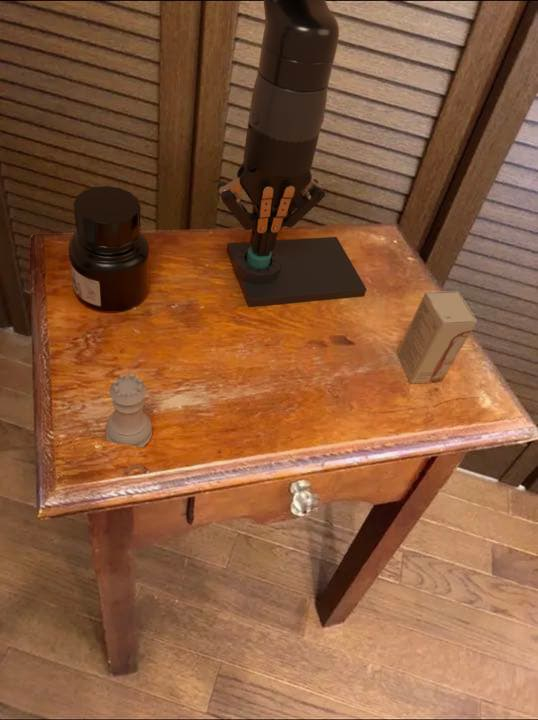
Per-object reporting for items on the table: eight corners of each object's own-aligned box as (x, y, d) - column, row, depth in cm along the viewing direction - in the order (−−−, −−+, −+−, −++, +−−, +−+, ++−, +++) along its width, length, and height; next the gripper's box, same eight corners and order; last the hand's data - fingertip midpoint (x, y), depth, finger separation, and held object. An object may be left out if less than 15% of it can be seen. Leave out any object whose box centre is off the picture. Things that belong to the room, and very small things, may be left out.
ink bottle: (70, 264, 72) (60, 178, 64) (142, 260, 75) (142, 177, 66) (76, 320, 67) (66, 234, 58) (154, 313, 69) (156, 230, 60)
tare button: (249, 271, 73) (251, 260, 72) (243, 255, 75) (245, 245, 74) (272, 269, 74) (274, 258, 73) (265, 254, 76) (267, 243, 75)
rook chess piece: (100, 422, 58) (96, 370, 52) (145, 411, 60) (145, 360, 54) (111, 459, 56) (108, 409, 50) (157, 447, 57) (159, 397, 52)
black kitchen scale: (244, 308, 72) (248, 290, 70) (223, 251, 79) (225, 233, 77) (363, 297, 78) (370, 279, 75) (334, 244, 84) (339, 227, 82)
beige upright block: (443, 382, 70) (479, 323, 62) (409, 384, 68) (442, 324, 61) (427, 350, 73) (459, 289, 65) (394, 351, 72) (424, 290, 64)
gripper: (330, 102, 65) (299, 230, 78) (214, 101, 61) (202, 236, 74) (356, 138, 61) (319, 267, 73) (233, 139, 56) (216, 275, 69)
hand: (260, 251), depth 74 cm, fingers closed
